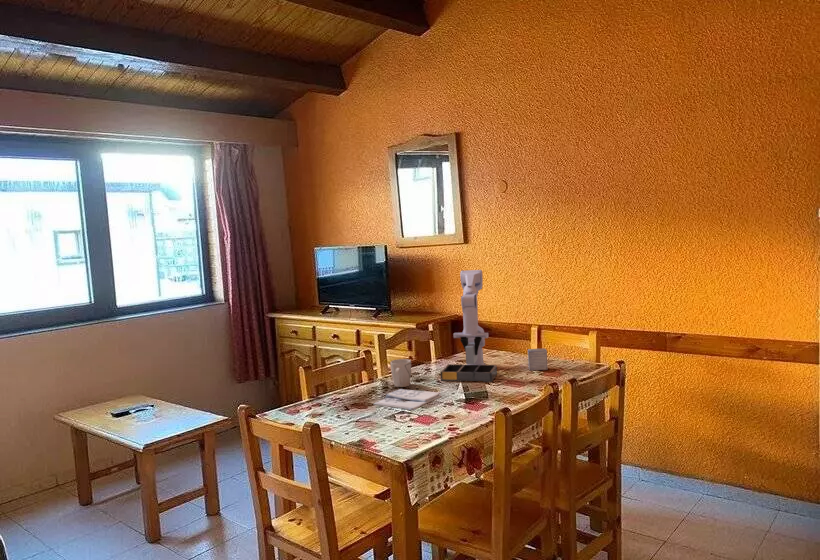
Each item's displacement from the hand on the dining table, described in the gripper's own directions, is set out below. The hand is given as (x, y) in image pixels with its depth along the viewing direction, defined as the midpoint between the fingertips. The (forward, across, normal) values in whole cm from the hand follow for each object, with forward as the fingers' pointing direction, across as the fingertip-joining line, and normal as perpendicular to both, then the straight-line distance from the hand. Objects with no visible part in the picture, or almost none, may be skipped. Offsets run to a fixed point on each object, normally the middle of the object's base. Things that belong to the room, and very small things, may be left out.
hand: (471, 354), depth 258 cm
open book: (+10, -19, -36) cm, 42 cm away
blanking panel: (+3, 0, -1) cm, 3 cm away
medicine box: (+10, +26, +14) cm, 31 cm away
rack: (+9, -1, -1) cm, 10 cm away
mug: (+10, -26, -17) cm, 33 cm away
